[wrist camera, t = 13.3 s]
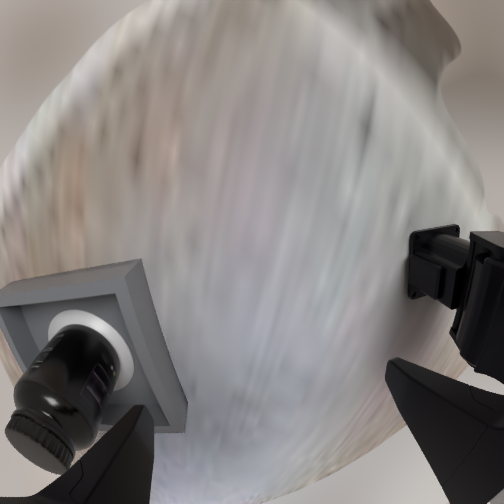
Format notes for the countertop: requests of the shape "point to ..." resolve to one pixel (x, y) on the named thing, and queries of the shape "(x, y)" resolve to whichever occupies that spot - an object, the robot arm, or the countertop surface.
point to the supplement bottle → (63, 397)
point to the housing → (109, 325)
